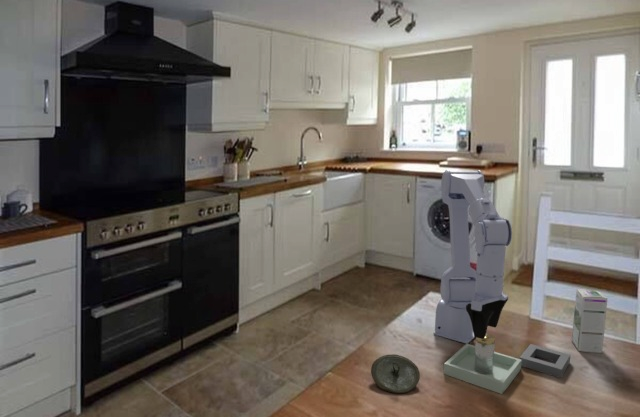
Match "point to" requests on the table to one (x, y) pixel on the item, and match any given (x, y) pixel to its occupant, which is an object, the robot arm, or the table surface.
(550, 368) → the holder
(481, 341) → the pin
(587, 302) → the syrup box
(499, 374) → the tray
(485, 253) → the robot arm
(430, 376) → the table surface
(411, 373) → the lid
